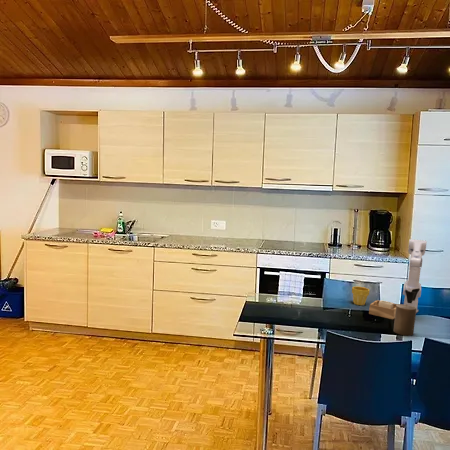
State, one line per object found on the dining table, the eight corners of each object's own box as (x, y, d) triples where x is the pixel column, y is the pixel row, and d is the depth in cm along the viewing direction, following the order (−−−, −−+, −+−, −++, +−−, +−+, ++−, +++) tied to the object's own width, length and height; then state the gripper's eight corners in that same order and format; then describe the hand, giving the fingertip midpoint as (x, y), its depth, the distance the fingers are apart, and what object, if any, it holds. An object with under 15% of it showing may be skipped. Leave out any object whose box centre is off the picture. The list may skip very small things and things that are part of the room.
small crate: (380, 310, 274) (381, 300, 273) (392, 312, 270) (393, 302, 269) (377, 312, 270) (378, 301, 269) (390, 314, 266) (391, 304, 265)
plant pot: (369, 303, 290) (371, 288, 289) (365, 307, 281) (367, 291, 280) (353, 300, 295) (354, 285, 294) (348, 303, 286) (350, 288, 285)
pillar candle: (413, 337, 233) (417, 308, 231) (392, 333, 236) (396, 304, 235) (413, 331, 242) (416, 303, 240) (393, 328, 245) (396, 300, 244)
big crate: (375, 308, 279) (376, 300, 279) (399, 314, 272) (400, 305, 271) (368, 313, 268) (369, 304, 268) (392, 319, 261) (394, 309, 260)
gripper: (409, 275, 272) (406, 297, 273) (403, 278, 260) (400, 302, 261) (422, 277, 268) (419, 300, 269) (416, 281, 256) (413, 305, 257)
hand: (411, 301), depth 265 cm, fingers open, 7 cm apart
